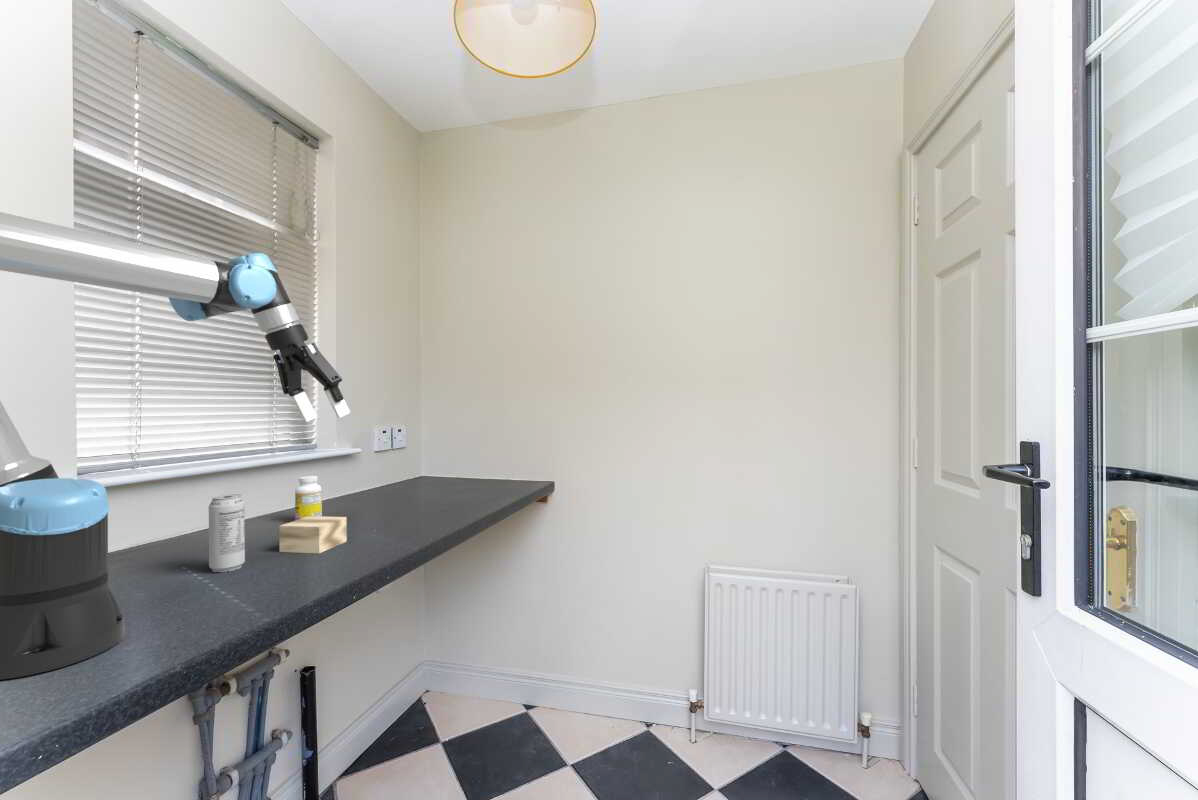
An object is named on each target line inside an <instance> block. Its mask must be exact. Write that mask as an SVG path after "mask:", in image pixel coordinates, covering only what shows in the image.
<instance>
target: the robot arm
mask: <svg viewBox="0 0 1198 800" xmlns="http://www.w3.org/2000/svg"><path fill="white" fill-rule="evenodd" d="M0 271H1V272H3V271H4V272H8V273H14V274H15V273H16V274H19V275H20V274H21V275H22V274H23V275H27V276H28V275H29V276H33V277H40V278H45V279H53V280H57V281H58V280H59V281H64V282H65V281H66V282H71V283H78V284H84V285H91V286H97V287H103V288H110V289H115V290H122V291H127V292H134V293H141V294H146V295H147V294H148V295H152V296H159V297H166V298H168V301H169V303H170V305H171V307H172V308H173V310H174V312H175V313H176V315H178V316H179V317H180V318H181V319H183V320H185V321H187V322H195V321H200V320H207V319H208V318H212V317H216V316H219V315H225V314H230V313H235V312H240V311H246V310H250V312H251V314H253V318H254V320H255V322H256V323H257V325H258V327H259V328H260V331H261V332H262V333H265V336H264V339H265V340H266V342H267V344H268V346H269V348H270V350H271V351H273V352H275V351H279V352H278V353H276V354H274V355H273V356H272V358H273V360H274V363H275V364H276V368H277V372H278V376H279V381H280V385H281V389H282V392H283V394H284V395H289V396H290V397H291V398H292V400H293V401H294V404H295V405H296V407H297V409H298V411H299V413H300V415H301V417H302V419H303V420H304V422H305V423H308V422H310V421H312V420H314V419H316V418H318V416H317V413H316V411H315V410H314V407H313V405H312V404H311V401H310V399H309V397H308V395H307V393H306V391H305V389H304V388H302V371H306V372H308V374H310V376H312V377H313V378H314V379H315V380H316V381H317V382H319V384H321V385H322V386H323V391H324V393H325V394H326V396H327V399H328V401H329V402H330V405H331V407H332V409H333V410H334V413H335V415H336V417H337V418H338V419H340V418H343V417H344V416H346V415H349V414H350V413H351V410H350V408H349V406H348V405H347V402H346V400H345V398H344V395H343V394H342V392H341V389H340V388H339V385H340V383H342V381H343V377H342V376H340V374H339V372H337V371H336V369H335V368H334V367H333V366H332V365H331V363H330V362H329V361H328V360H327V358H325V356H324V355H323V354H322V353H321V351H320V349H319V348H318V346H317V344H316V343H314V342H312V343H310V344H306V343H305V342H306V341H308V339H309V335H308V334H307V331H306V330H305V327H304V326H303V324H301V323H298V322H299V321H300V318H299V316H298V314H297V312H296V311H297V310H296V308H295V307H294V306H293V304H292V301H291V300H290V297H289V295H288V293H287V291H286V289H285V287H284V285H283V283H282V280H281V279H280V276H279V273H278V270H276V267H275V266H274V264H273V262H272V261H271V260H270V258H269V256H268V255H267V254H265V253H263V252H254V253H249V254H248V253H247V254H245V255H241V256H238V257H234V258H232V259H230V260H229V261H228V262H223V261H217V260H212V259H208V258H205V257H199V256H195V255H191V254H187V253H183V252H182V253H181V252H177V251H174V250H168V249H164V248H160V247H156V246H151V245H147V244H142V243H138V242H133V241H129V240H124V239H120V238H116V237H115V238H114V237H111V236H108V235H107V236H106V235H103V234H98V233H94V232H89V231H85V230H81V229H77V228H71V227H67V226H65V225H64V226H63V225H59V224H54V223H50V222H47V221H46V222H45V221H41V220H36V219H33V218H28V217H25V216H24V217H23V216H20V215H14V214H10V213H6V212H2V211H0ZM109 511H110V501H109V499H108V494H107V488H106V487H105V486H104V485H103V484H102V483H100V482H97V481H94V480H92V479H87V478H76V479H75V478H71V477H69V478H68V477H63V478H62V477H59V476H58V473H57V472H56V470H55V468H54V466H53V464H52V463H51V461H50V460H48V459H45V458H42V457H41V458H40V457H38V456H33V455H32V454H31V453H30V451H29V450H28V447H27V446H26V444H25V442H24V440H23V439H22V437H21V436H20V434H19V432H18V430H17V428H16V427H15V424H14V423H13V421H12V419H11V418H10V415H9V414H8V412H7V410H6V409H5V406H4V405H3V402H2V401H1V400H0V680H8V679H16V678H21V677H22V678H23V677H27V676H28V677H29V676H31V675H37V674H41V673H45V672H49V671H52V670H56V669H60V668H64V667H68V666H69V665H70V666H71V665H72V664H76V663H79V662H81V661H85V660H87V659H90V658H92V657H95V656H97V655H100V654H101V653H103V652H105V651H107V650H109V649H111V648H113V647H114V646H116V645H117V644H119V643H120V642H121V641H122V640H123V639H124V637H126V636H125V635H126V621H125V617H124V615H123V614H122V612H121V609H120V607H119V605H118V603H117V601H116V599H115V597H114V594H113V593H112V591H111V588H110V586H109V539H108V538H109V516H108V515H109Z"/></svg>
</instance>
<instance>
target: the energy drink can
mask: <svg viewBox="0 0 1198 800" xmlns="http://www.w3.org/2000/svg"><path fill="white" fill-rule="evenodd" d="M241 496H242V495H241V494H240V493H239V494H235V493H232V494H231V493H230V494H220V495H216V496H212V497H211V498H212V500H211V502H210V503H209V505H208V567H209V568H210V569H211V571H212V572H213V573H216V572H221V573H228V572H227V571H229V572H233V571H237V570H240V569H241V568H242V567H243V564H244V563H246V546H245V544H246V543H245V542H246V541H245V539H246V538H245V537H246V536H245V535H246V534H245V531H246V527H245V523H246V522H245V501H244V500H243V498H242V497H241ZM236 569H237V570H236Z"/></svg>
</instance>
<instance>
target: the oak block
mask: <svg viewBox="0 0 1198 800" xmlns="http://www.w3.org/2000/svg"><path fill="white" fill-rule="evenodd" d="M347 521H348V520H347V516H324V515H322V516H308V517H305V518H302V519H299V520H296V519H295V520H293V521H290V522H287V523H284V524H281V525H279V526H278V527H279V528H278V531H279V533H278V535H279V536H278V537H279V540H278V541H279V542H278V544H279V553H296V554H299V553H300V554H321V553H323V552H325V551H329V550H330V549H333V548H336V547H337V546H340V545H342V544H344V543H346V542H347V540H348V534H347V533H348V530H347V529H348V527H347V526H348V524H347Z"/></svg>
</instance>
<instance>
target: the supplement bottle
mask: <svg viewBox="0 0 1198 800" xmlns="http://www.w3.org/2000/svg"><path fill="white" fill-rule="evenodd" d="M318 478H319V477H318V476H317V475H305V476H300V477H299V478H298V483H299V485H298V486H297V487H295V489H294V493H295V494H294V496H295V497H294V506H295V507H294V508H295V509H294V510H295V514H294V515H295V516H294V517H295V518H294V519H295V521H296V520H299V519H302V518H305V517H308V516H323V503H322V502H323V499H322V497H323V496H322V490H323V489H322V486H321V485H319V484H318V480H319V479H318Z"/></svg>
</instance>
